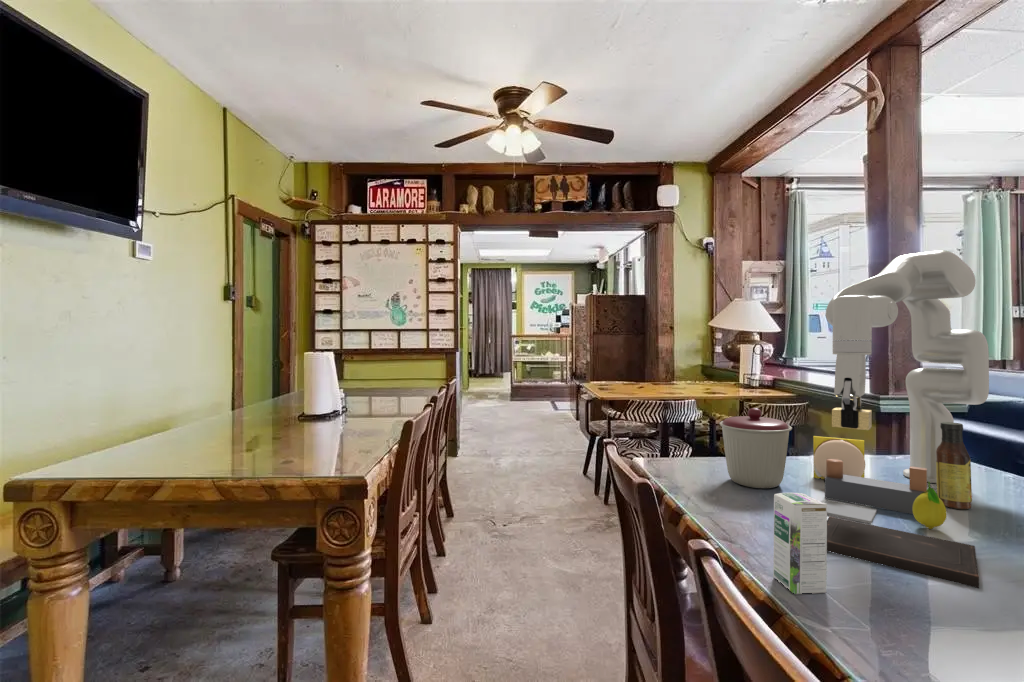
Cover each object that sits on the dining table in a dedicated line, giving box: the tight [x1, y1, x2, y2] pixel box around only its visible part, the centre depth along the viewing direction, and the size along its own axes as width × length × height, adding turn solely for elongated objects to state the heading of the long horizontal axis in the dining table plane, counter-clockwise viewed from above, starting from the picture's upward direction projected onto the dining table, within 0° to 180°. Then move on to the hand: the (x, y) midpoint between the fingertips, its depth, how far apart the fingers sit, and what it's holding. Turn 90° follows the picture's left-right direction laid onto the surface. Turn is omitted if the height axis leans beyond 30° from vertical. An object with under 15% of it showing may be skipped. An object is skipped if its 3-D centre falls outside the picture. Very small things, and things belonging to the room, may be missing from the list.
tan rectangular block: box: [831, 407, 873, 431], centre depth 114 cm, size 5×7×4 cm
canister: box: [719, 407, 793, 489], centre depth 136 cm, size 18×18×21 cm
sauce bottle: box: [936, 422, 973, 510], centre depth 117 cm, size 7×6×20 cm
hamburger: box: [812, 435, 866, 480], centre depth 137 cm, size 12×8×12 cm
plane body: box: [824, 459, 928, 515], centre depth 119 cm, size 7×20×10 cm, turn 47°
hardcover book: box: [827, 516, 980, 589], centre depth 92 cm, size 16×23×2 cm
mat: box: [823, 499, 878, 525], centre depth 113 cm, size 10×10×1 cm
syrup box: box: [772, 492, 828, 595], centre depth 80 cm, size 6×6×14 cm
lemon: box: [912, 482, 948, 530], centre depth 103 cm, size 7×6×10 cm
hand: (851, 425), depth 114 cm, fingers closed on tan rectangular block, 5 cm apart
